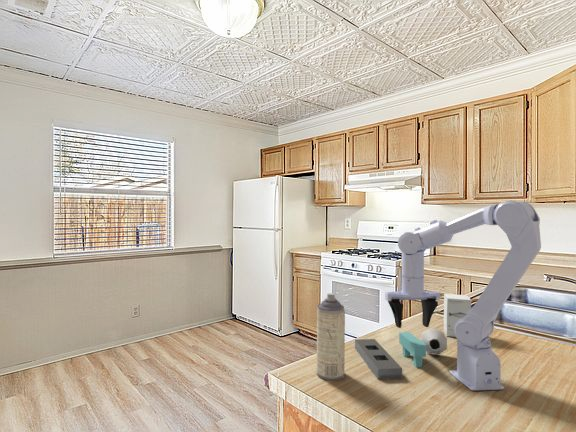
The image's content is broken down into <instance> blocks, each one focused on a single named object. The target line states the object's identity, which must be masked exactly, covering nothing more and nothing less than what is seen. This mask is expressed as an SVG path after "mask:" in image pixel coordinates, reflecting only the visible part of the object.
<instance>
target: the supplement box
mask: <svg viewBox="0 0 576 432" xmlns="http://www.w3.org/2000/svg"><path fill="white" fill-rule="evenodd" d="M471 308H472V299H471V298H470V296H468V295H466V294H451V293H444V294H443V331H444V332H443V333H444V335H445V336H446V337H453V338H456V336H455V334H454V325H455V323H456V322H457V321H458V320H459V319H462V318H464V317H465V316H466V314H467V313H468V311H469V310H470V309H471Z"/></svg>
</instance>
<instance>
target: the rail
mask: <svg viewBox="0 0 576 432" xmlns="http://www.w3.org/2000/svg"><path fill="white" fill-rule="evenodd" d="M354 349H355V351H356V352H357V353H358V354H359V356H360V357H361V358H362V360H363V361H364V363H365V364H366V365H367V366H368V368H369V370H370V371H371V372H372V373H373V375H374V376H375V377H376V379H377V380H397V379H403V367H402V366H400V364H399V363H398V362H397V361H396V360H395V359H394V358H393V356H391V355H390V354H389V352H388V351H387V350H385V348H384V347H383V346H382V345H381V344H380V343H379V342H378V341H377V340H376V338H368V339H367V338H365V339H359V338H358V339H354Z"/></svg>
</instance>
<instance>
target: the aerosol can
mask: <svg viewBox="0 0 576 432" xmlns="http://www.w3.org/2000/svg"><path fill="white" fill-rule="evenodd" d="M345 313H346V311H345V306H344V305H343V304H341V302H340V301H339V300H338V299H337V298H336V297H335V293H333V292H329V293H327V296H326V298H324V300H323V301H321V303H320V304H318V305H317V308H316V316H317V317H316V376H317V377H318V378H320V379H321V380H324V381H340V380H342V379H344V377H345V359H346V358H345V352H346V351H345V348H346V347H345V345H346V344H345V343H346V339H345V336H346V335H345V333H346V332H345V328H346V327H345V325H346V324H345V323H346V321H345V319H346V314H345Z"/></svg>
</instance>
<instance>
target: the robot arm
mask: <svg viewBox="0 0 576 432" xmlns="http://www.w3.org/2000/svg"><path fill="white" fill-rule="evenodd" d="M540 221H541V218H540V216H539V215H538V213H537V210H536V209H535V208H534V207H533V205H531V204H530V203H529V202H525V201H516V200H505V201H502V202H500V203H499V204H498V203H495V204H492V205H488V206H485V207H482V208H479V209H477V210H474V211H473V212H470V213H468V214H466V215H464V216H461V217H459V218H457V219H454V220H452V221H450V222H446V221H445V220H437V219H434V220H432V221H430V224H427V225H426V226H423V227H416V228H414V232H413V231H412V232H411V231H406V232H404V233H403V234H401V235H400V236H399V238H398V240H397V246H398V249H399V251H401V281H400V282H401V288H400V289H401V290H397V291H386V292H385V294H384V297H385V298H384V299H385V301H387V303H388V305H389V307H390V309H391V312H392V315H393V318H394V322H395V327H397V328H398V329H402V326H403V325H402V316H403V315H402V314H403V308H404V304H403V303H402V301H414V300H415V301H418V300H419V301H420V302H421V308H422V310H421V311H422V320H421V321H422V322H421V323H422V326H424V327H425V328H430V326H429V325H430V324H431V323H430V322H431V319H432V317H433V314H434V311H436V309H437V307H438V306H439V305H438V304H439V302H438V301H440V299H441V297H440V295H441V293H440V292H439V291H430V290H425V289H424V288H425V278H424V277H425V275H424V274H425V271H424V270H425V257H424V256H425V252H426V251H427V250H429V249H432V248H435V247H438V246H441V245H443V244H446V243H449V242H451V240H452V239H453V237H454V235H456V234H459V233H462V232H464V231H467V230H471V229H474V228H478V227H480V226H483V225H487V226H488V225H489V226H498V227H499V228H500V229H501V230H502V231H503V232H504V233H505V234H506V236H507V239H508V242H509V244H510V246H511V248H510V249H509V251H508V252H507V254H506V255H505V258H504V259H503V261H502V262H501V263H500V265H499V266H498V268H497V269H496V271H495V273H494V274H493V276H492V277H491V279H490V280H489V282H488V283H487V285H486V287H485V288H484V290H483V292H481V294H480V296H479V297H478V299H477V301H476V302H475V303H474V305H472V306H471V309H470V310H469V311H468V313H467V314H466V316H465V317H464V318H462V319H459V320H458V321H457V322H456V323H455V325H454V334H455V336H456V337H455V338H456V339H457V344H456V346H457V348H456V357H457V358H456V359H457V360H456V369H454V370H449V374H450V375H452V376H453V377H454V378H456V379H457V380H458V381H459V382H460V383H462V384H463V385H464V386H465V387H466V388H468V389H469V390H470V391H473V392H474V391H475V392H476V391H490V390H491V391H494V390H495V391H496V390H504V389H505V387H504V386H503V385H502V384H501V367H502V366H501V360H500V358H499V357H498V355H497V354H496V353H495V352H494V350H493V347H492V342H491V338H490V337H489V336H490V335H492V334H493V332H494V329H495V324H494V323H495V321H496V319H497V318H498V315H499V312H500V311H501V309H502V308H503V306H504V305H505V303H506V302H507V300H508V298H509V297H510V296H511V294H512V293H513V291H514V289H515V288H516V287H517V285H518V283H519V282H520V281H521V279H522V278H523V276H524V275H525V274H526V272H527V270H528V269H529V268H530V266H531V265H532V263H533V261H534V260H535V259H536V257H537V255H538V254H539V253H540V251H541V248H542V241H541V231H540V223H541V222H540Z"/></svg>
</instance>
